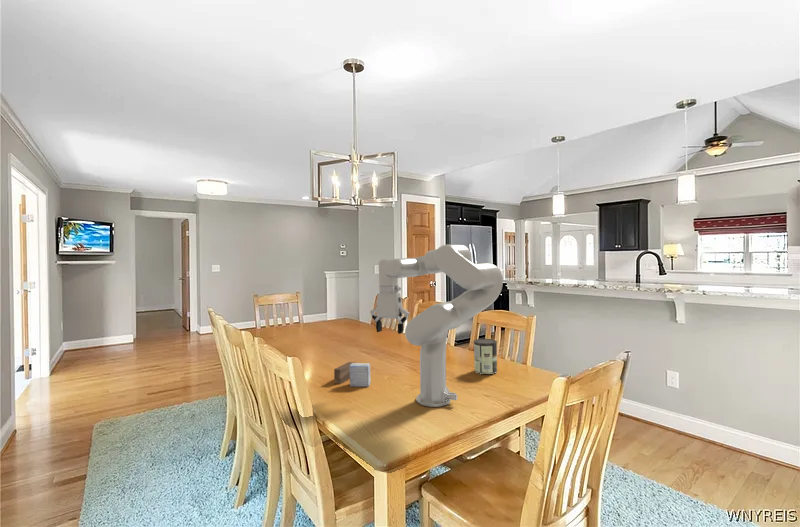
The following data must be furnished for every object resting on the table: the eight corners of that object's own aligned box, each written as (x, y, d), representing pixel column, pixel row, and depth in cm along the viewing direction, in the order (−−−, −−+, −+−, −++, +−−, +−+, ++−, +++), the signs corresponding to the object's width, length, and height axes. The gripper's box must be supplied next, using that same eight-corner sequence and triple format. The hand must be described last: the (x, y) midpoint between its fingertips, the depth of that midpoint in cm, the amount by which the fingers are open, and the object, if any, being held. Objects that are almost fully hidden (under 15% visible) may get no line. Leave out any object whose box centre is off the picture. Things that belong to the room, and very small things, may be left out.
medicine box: (370, 383, 165) (370, 363, 165) (368, 387, 161) (368, 366, 160) (352, 383, 166) (351, 362, 166) (349, 386, 161) (349, 365, 161)
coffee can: (488, 367, 185) (488, 337, 185) (501, 373, 176) (501, 342, 175) (469, 370, 181) (469, 339, 181) (482, 376, 172) (481, 344, 171)
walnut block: (355, 375, 176) (355, 362, 176) (340, 383, 165) (340, 369, 165) (349, 374, 177) (349, 361, 177) (334, 383, 166) (334, 369, 166)
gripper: (412, 289, 157) (413, 332, 157) (374, 288, 165) (375, 329, 165) (403, 291, 150) (404, 335, 150) (365, 290, 158) (366, 332, 158)
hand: (389, 332), depth 158 cm, fingers open, 9 cm apart
